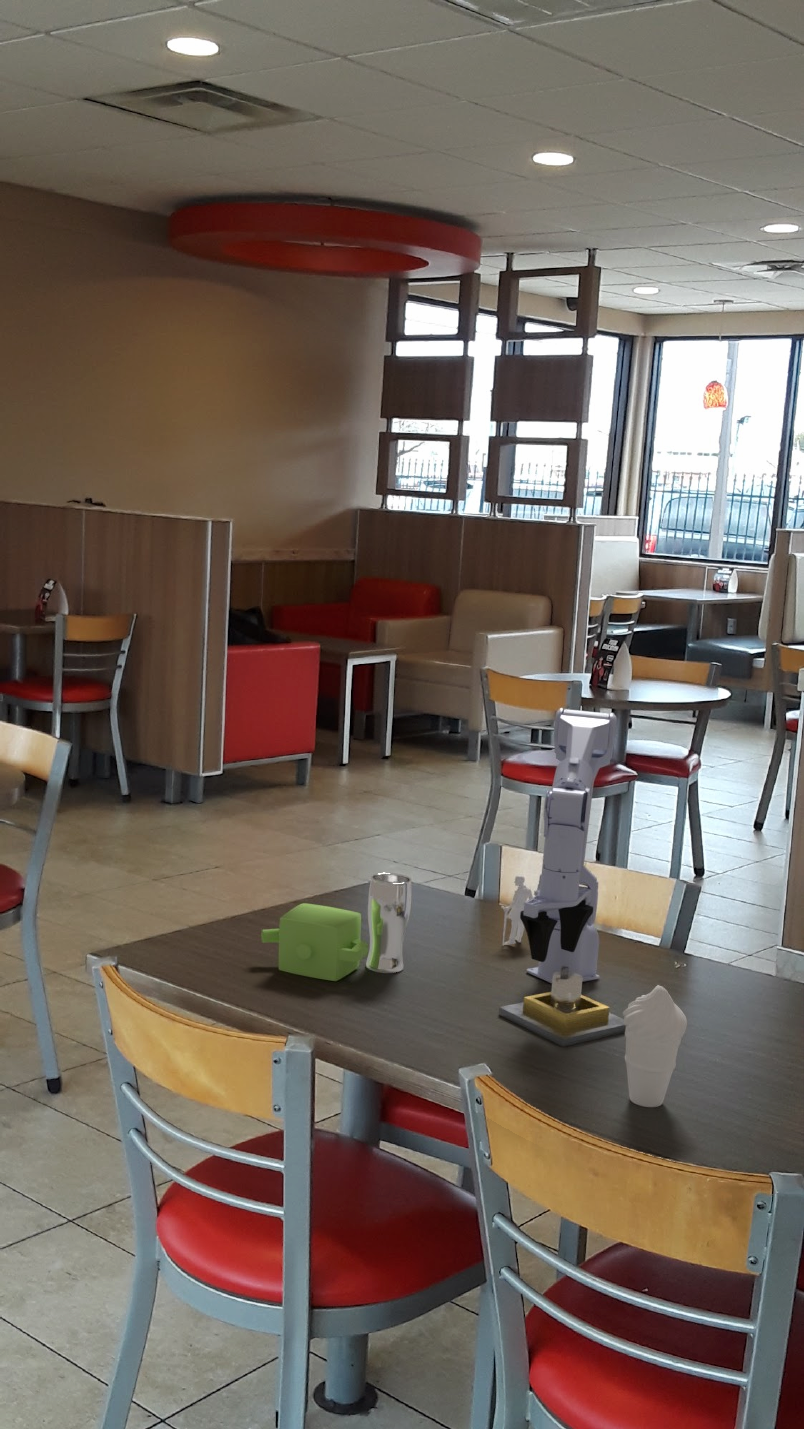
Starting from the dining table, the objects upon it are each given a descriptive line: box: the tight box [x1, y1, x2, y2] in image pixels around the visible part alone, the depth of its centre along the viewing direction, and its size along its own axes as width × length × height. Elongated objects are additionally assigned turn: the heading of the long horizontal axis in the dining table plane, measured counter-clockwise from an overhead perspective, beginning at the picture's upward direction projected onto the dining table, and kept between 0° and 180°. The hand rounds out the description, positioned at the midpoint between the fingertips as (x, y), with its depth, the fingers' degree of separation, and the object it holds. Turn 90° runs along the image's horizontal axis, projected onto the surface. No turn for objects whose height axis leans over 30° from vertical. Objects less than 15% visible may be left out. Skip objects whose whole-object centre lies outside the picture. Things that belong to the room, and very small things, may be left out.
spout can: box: [550, 966, 583, 1013], centre depth 212 cm, size 4×4×8 cm
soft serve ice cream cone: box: [622, 984, 688, 1108], centre depth 185 cm, size 8×8×16 cm
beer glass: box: [365, 872, 412, 974], centre depth 231 cm, size 7×7×15 cm
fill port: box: [498, 991, 626, 1048], centre depth 213 cm, size 14×14×3 cm
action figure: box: [500, 874, 534, 947], centre depth 249 cm, size 6×4×12 cm, turn 133°
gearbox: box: [260, 902, 369, 982], centre depth 227 cm, size 18×10×10 cm, turn 67°
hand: (553, 955), depth 215 cm, fingers open, 7 cm apart
